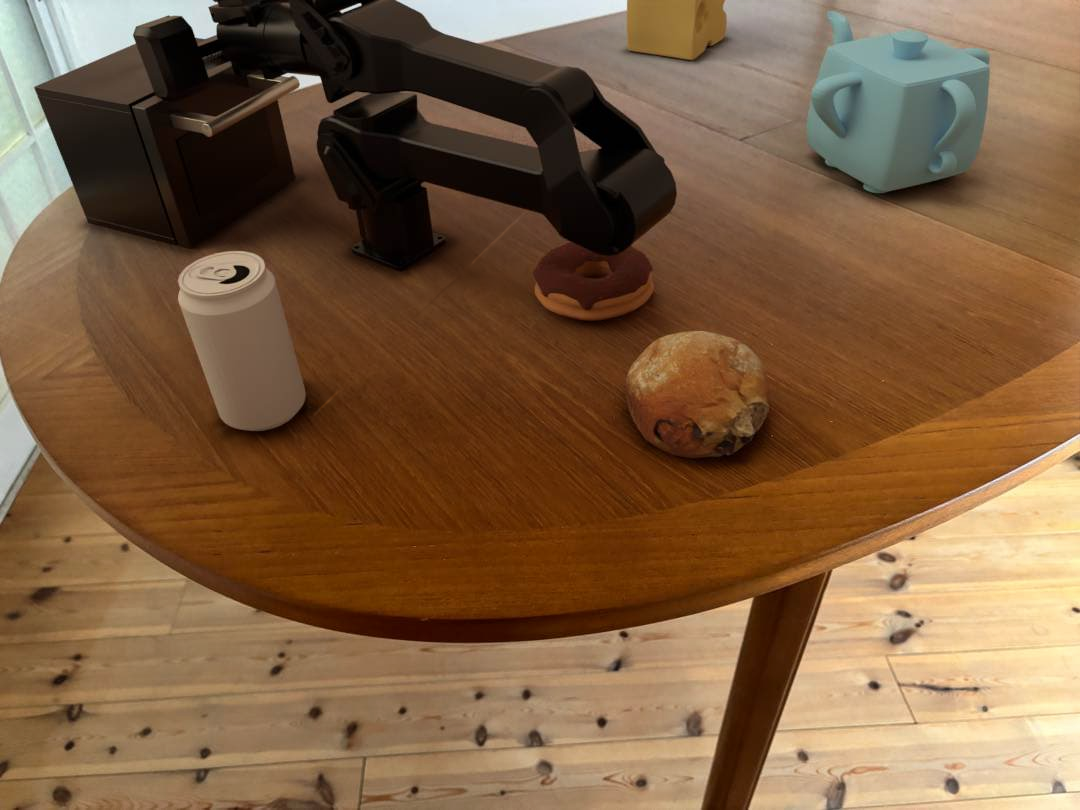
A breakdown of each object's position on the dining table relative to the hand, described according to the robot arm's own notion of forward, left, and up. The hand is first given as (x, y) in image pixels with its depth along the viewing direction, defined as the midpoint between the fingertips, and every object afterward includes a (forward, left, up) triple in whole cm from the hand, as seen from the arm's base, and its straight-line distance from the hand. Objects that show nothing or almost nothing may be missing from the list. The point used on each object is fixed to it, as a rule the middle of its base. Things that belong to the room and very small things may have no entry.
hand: (182, 30), depth 87 cm
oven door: (-8, +2, -16) cm, 18 cm away
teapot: (-55, -41, -16) cm, 70 cm away
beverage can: (-33, +22, -16) cm, 43 cm away
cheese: (-19, -62, -16) cm, 66 cm away
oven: (+1, +4, -16) cm, 17 cm away
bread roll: (-60, +5, -16) cm, 62 cm away
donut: (-45, -4, -16) cm, 48 cm away
